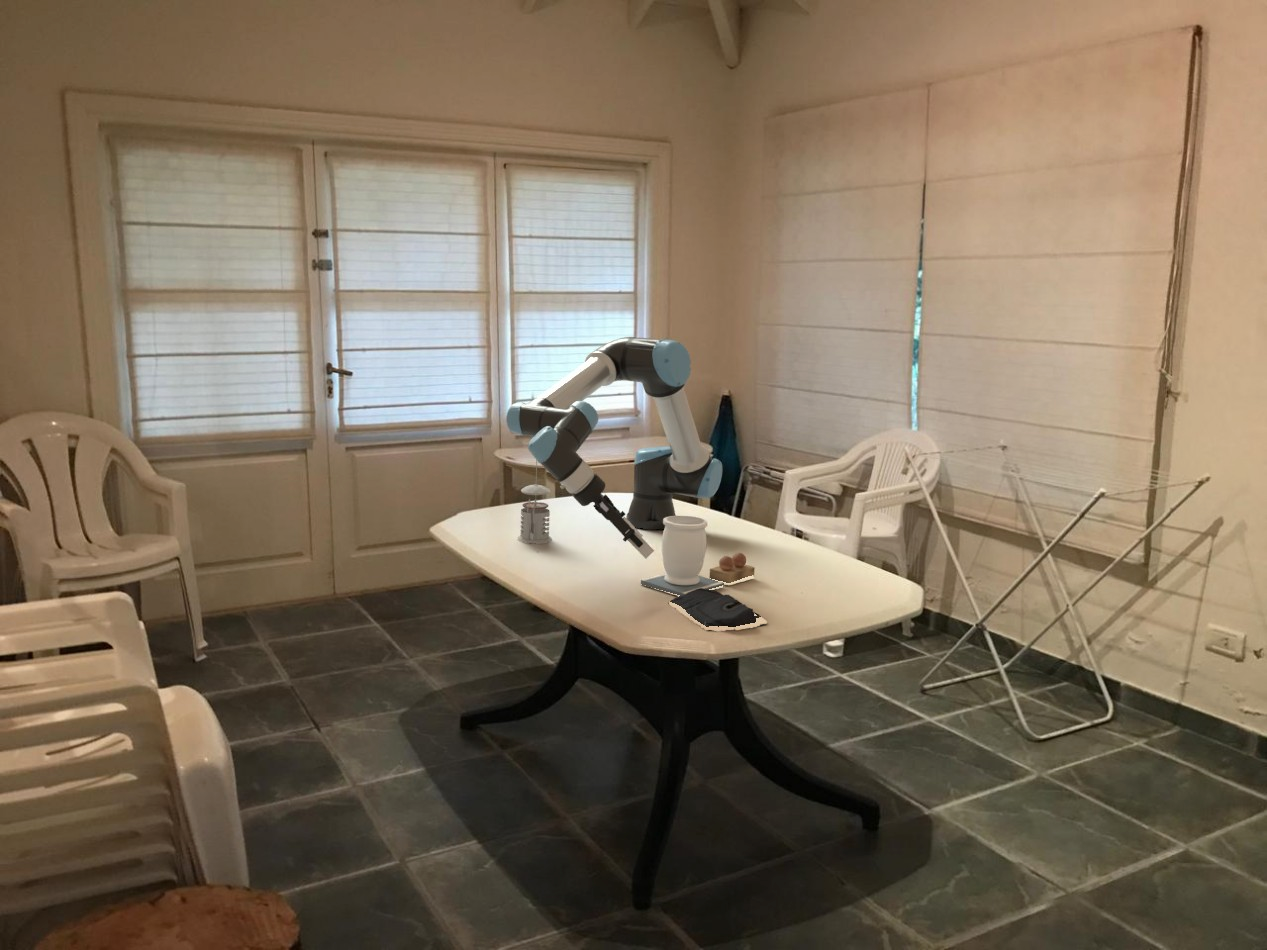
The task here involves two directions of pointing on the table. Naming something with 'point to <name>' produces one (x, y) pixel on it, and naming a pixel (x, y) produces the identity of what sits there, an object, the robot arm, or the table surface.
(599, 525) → the table surface
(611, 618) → the table surface
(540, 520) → the french press
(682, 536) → the jar
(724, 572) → the ball rack
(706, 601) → the dark flat piece
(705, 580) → the slate card
